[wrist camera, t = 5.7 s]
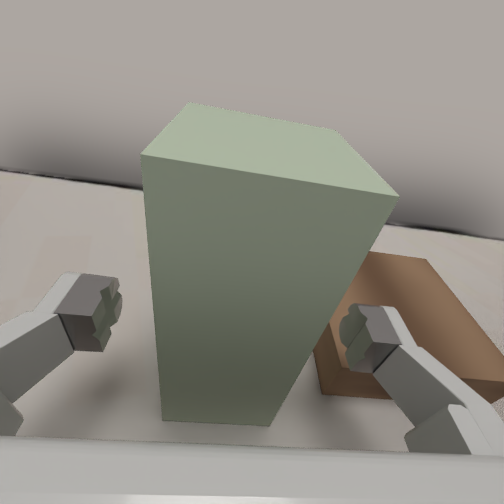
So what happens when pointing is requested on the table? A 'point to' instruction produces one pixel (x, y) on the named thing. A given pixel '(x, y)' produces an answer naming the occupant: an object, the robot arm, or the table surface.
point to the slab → (411, 329)
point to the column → (249, 254)
